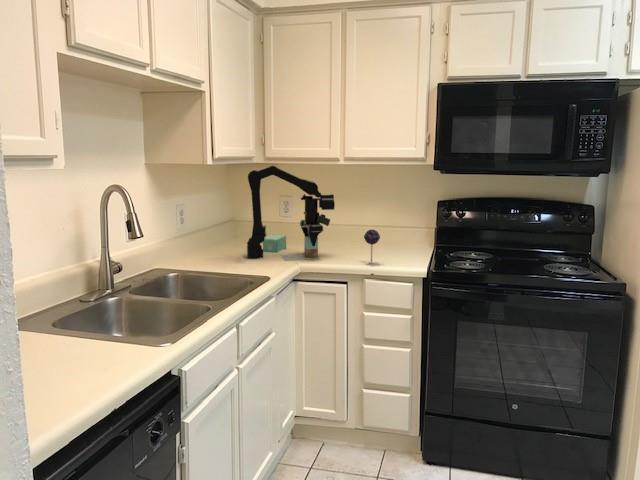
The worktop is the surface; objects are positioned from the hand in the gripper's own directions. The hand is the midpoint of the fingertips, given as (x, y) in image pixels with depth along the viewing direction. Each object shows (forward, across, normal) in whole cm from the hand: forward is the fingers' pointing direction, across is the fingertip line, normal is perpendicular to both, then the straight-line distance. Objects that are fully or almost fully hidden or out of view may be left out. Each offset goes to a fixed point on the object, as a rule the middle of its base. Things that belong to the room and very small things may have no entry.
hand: (311, 244), depth 240 cm
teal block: (+2, 0, 0) cm, 2 cm away
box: (+7, +21, +13) cm, 26 cm away
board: (+7, 0, +5) cm, 8 cm away
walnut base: (+6, 0, 0) cm, 6 cm away
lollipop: (+7, -16, -23) cm, 29 cm away
